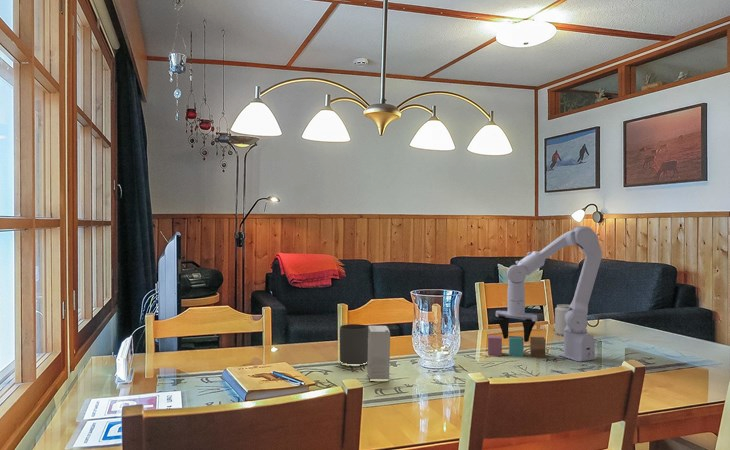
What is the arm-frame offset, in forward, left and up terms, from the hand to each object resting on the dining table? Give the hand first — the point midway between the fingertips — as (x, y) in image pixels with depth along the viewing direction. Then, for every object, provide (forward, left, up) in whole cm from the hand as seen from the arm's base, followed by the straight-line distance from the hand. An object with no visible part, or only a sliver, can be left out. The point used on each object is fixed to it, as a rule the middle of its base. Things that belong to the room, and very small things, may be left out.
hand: (516, 339), depth 192 cm
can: (+18, -41, -5) cm, 45 cm away
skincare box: (-6, +55, -5) cm, 56 cm away
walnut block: (-4, -6, -5) cm, 9 cm away
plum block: (+4, +6, -5) cm, 9 cm away
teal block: (0, 0, -5) cm, 5 cm away
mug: (+15, +54, -5) cm, 57 cm away
